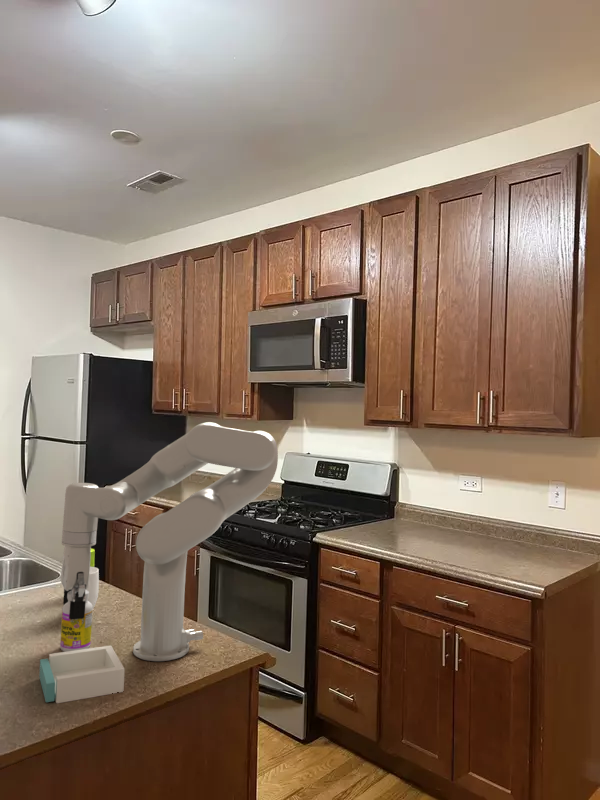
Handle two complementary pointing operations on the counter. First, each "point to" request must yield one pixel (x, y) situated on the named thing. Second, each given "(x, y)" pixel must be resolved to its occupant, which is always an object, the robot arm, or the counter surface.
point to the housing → (86, 673)
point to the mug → (93, 585)
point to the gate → (47, 680)
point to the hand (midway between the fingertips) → (73, 611)
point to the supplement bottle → (76, 627)
